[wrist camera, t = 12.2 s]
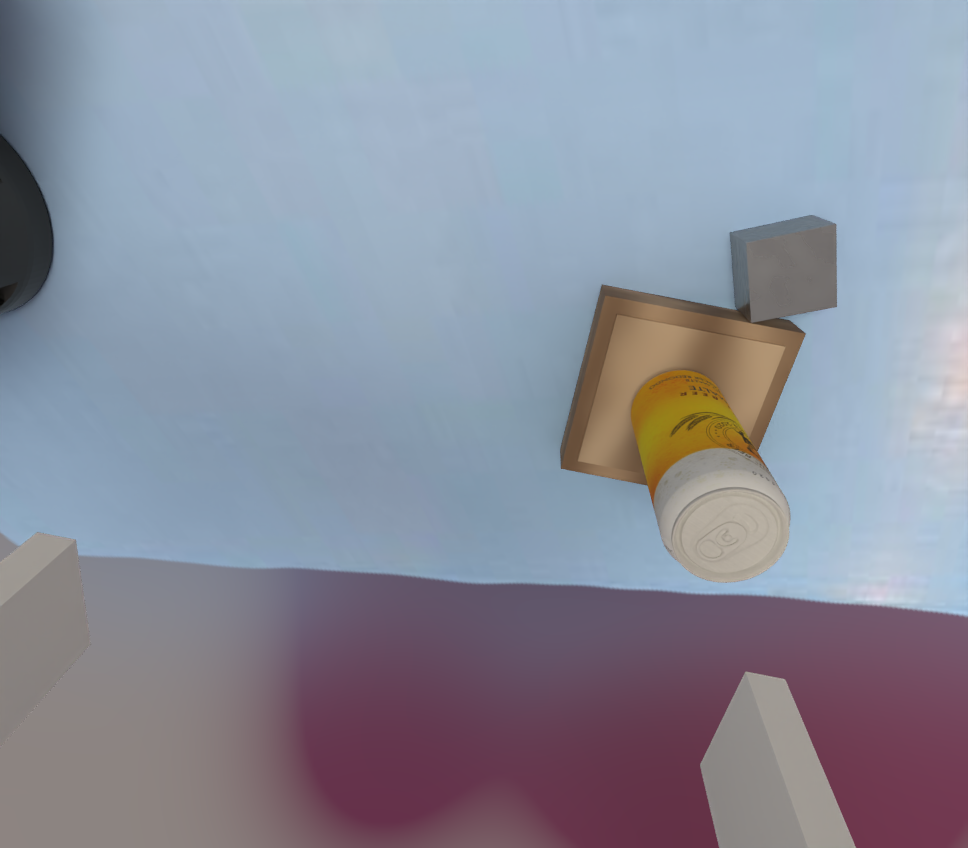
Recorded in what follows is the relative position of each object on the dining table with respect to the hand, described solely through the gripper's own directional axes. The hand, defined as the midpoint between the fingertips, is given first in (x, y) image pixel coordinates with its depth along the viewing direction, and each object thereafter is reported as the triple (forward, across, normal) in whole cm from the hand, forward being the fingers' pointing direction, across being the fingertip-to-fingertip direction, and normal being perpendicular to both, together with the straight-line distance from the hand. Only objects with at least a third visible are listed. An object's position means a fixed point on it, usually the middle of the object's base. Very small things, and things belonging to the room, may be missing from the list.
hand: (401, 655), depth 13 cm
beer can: (+32, +13, -6) cm, 35 cm away
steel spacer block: (+35, +17, +4) cm, 39 cm away
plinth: (+35, +13, -6) cm, 38 cm away
